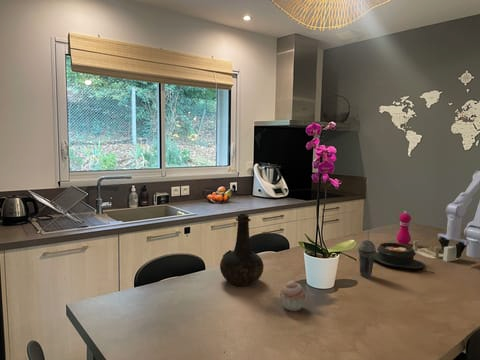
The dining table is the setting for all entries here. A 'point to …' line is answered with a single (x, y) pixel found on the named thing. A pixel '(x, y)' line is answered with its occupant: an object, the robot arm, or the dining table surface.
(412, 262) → the casserole
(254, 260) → the glass bottle
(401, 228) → the pepper mill
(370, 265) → the beverage cup
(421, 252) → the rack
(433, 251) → the offcut stack
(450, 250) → the white upright panel
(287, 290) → the cupcake
